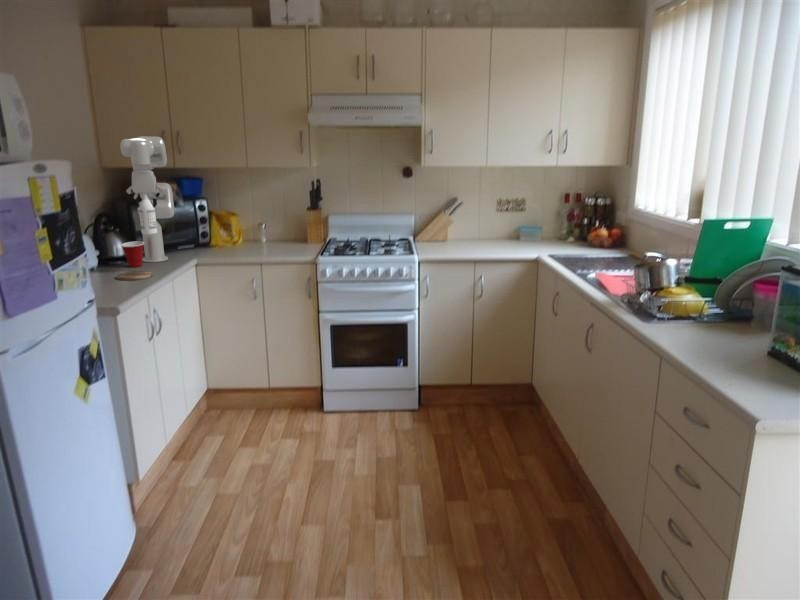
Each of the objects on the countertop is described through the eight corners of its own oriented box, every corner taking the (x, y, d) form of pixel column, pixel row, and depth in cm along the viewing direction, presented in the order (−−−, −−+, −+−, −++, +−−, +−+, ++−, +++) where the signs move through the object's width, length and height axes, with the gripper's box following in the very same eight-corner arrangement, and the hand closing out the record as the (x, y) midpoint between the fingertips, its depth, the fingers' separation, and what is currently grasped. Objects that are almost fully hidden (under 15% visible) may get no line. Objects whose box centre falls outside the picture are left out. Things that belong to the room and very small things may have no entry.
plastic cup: (118, 267, 275) (115, 243, 272) (136, 263, 285) (133, 240, 282) (134, 269, 271) (131, 245, 268) (151, 265, 281) (149, 242, 277)
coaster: (119, 274, 261) (119, 271, 260) (154, 272, 265) (153, 269, 265) (114, 281, 247) (114, 278, 247) (150, 279, 251) (150, 276, 251)
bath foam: (159, 232, 267) (155, 190, 262) (154, 234, 261) (150, 192, 255) (144, 232, 267) (139, 190, 261) (139, 234, 260) (134, 191, 254)
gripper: (162, 168, 261) (166, 205, 266) (122, 168, 256) (127, 206, 261) (161, 168, 254) (165, 207, 259) (120, 168, 249) (125, 208, 254)
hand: (146, 206), depth 260 cm, fingers closed on bath foam, 6 cm apart
